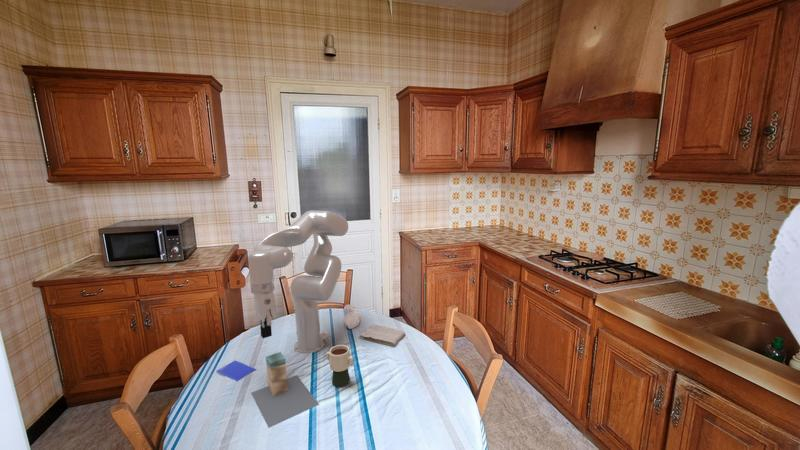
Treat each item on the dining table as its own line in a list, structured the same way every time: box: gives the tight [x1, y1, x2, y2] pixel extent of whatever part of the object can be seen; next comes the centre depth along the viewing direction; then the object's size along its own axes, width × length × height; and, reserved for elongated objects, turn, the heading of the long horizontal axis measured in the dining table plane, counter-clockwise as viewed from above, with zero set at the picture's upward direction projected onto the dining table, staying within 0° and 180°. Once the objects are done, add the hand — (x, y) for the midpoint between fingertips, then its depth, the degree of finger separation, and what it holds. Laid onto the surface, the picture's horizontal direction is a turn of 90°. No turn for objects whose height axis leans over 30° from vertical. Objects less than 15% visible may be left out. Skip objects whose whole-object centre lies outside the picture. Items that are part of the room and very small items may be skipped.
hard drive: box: [215, 359, 257, 382], centre depth 130 cm, size 2×8×12 cm
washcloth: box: [359, 324, 406, 348], centre depth 154 cm, size 12×18×3 cm, turn 65°
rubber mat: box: [250, 374, 320, 429], centre depth 114 cm, size 16×20×1 cm
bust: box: [343, 303, 362, 330], centre depth 165 cm, size 12×8×11 cm
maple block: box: [265, 351, 288, 396], centre depth 118 cm, size 5×5×12 cm
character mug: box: [326, 344, 354, 388], centre depth 121 cm, size 11×7×13 cm, turn 67°
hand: (266, 336), depth 121 cm, fingers closed
